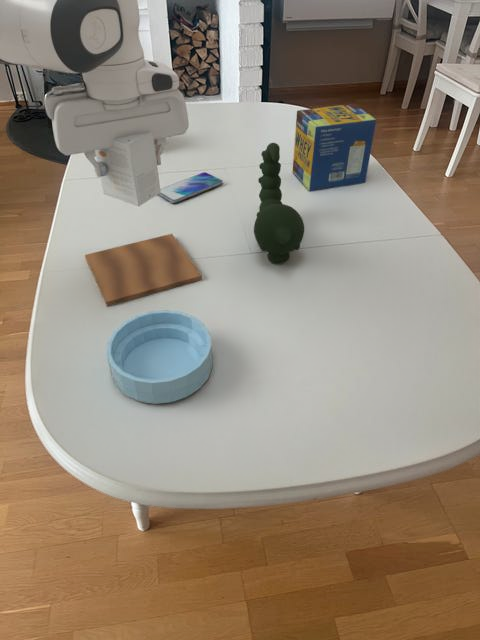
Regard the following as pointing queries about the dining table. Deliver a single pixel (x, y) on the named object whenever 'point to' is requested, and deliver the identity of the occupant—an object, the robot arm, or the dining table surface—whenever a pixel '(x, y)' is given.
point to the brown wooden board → (141, 269)
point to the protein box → (332, 146)
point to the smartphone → (189, 187)
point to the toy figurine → (276, 213)
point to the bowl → (160, 356)
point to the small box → (130, 169)
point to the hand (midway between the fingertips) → (129, 169)
